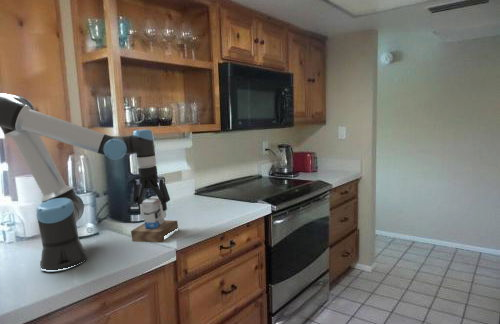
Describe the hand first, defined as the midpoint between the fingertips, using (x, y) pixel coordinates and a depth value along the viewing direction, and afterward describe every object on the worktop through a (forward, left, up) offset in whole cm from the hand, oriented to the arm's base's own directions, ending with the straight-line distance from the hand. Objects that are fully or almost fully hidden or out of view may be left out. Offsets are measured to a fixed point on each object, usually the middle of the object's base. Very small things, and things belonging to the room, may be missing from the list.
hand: (153, 217), depth 145 cm
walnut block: (0, 0, -8) cm, 8 cm away
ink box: (0, 0, -4) cm, 4 cm away
